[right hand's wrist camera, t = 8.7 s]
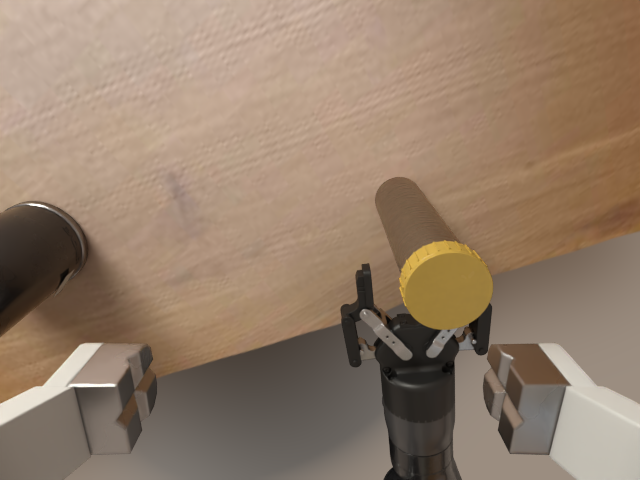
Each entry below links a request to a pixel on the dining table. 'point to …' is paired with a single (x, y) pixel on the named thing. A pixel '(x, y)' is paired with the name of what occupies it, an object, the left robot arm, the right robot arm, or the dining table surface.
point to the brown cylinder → (409, 218)
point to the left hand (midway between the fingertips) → (411, 262)
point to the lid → (445, 285)
